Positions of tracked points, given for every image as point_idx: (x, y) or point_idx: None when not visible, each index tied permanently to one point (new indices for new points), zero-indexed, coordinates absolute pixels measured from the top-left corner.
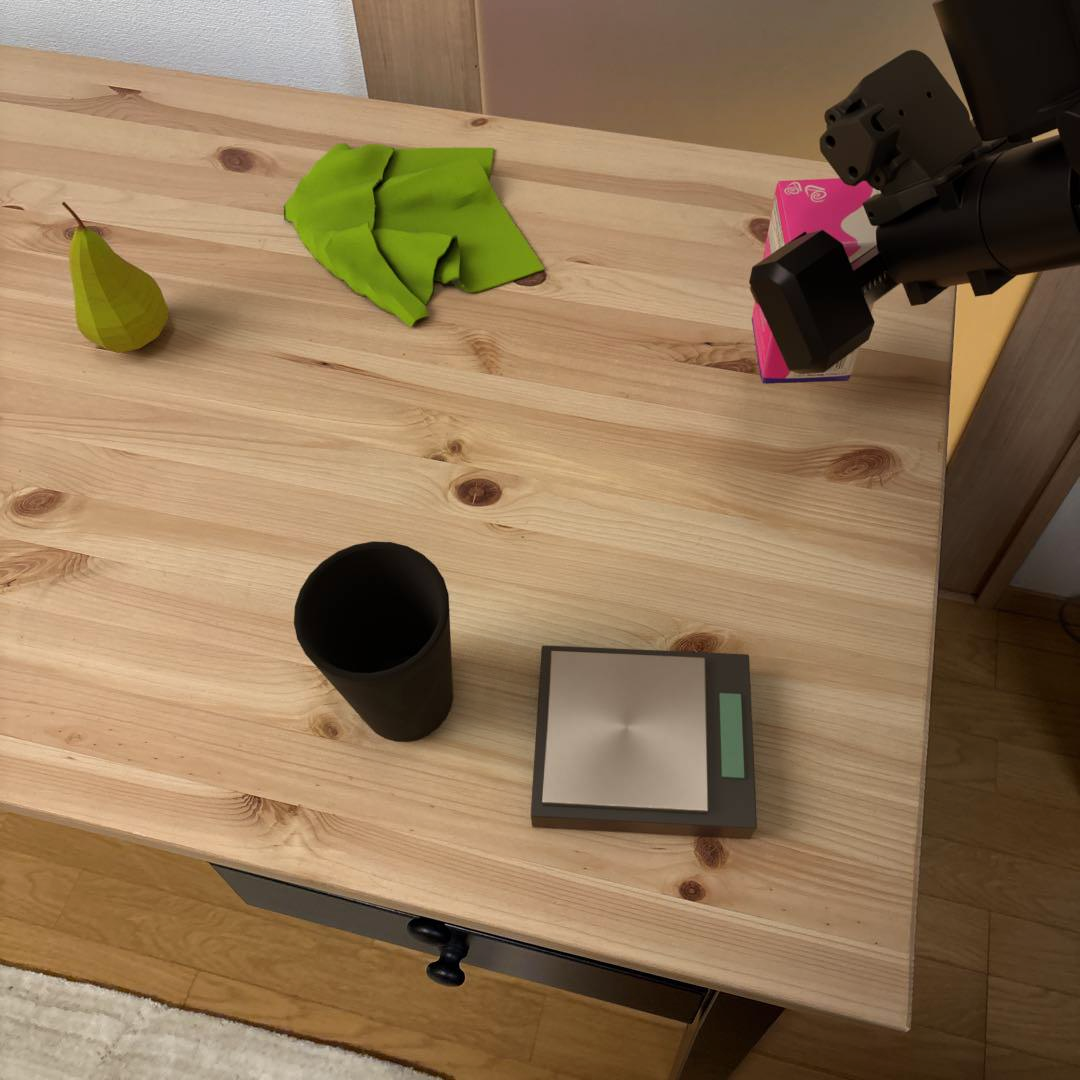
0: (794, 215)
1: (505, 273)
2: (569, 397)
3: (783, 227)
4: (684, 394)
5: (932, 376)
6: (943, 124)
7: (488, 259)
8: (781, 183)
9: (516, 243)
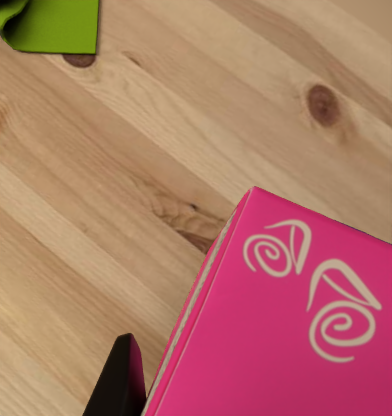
0: (208, 381)
1: (57, 42)
2: (34, 206)
3: (158, 386)
4: (138, 254)
5: None
6: None
7: (52, 20)
8: (256, 204)
9: (87, 14)
